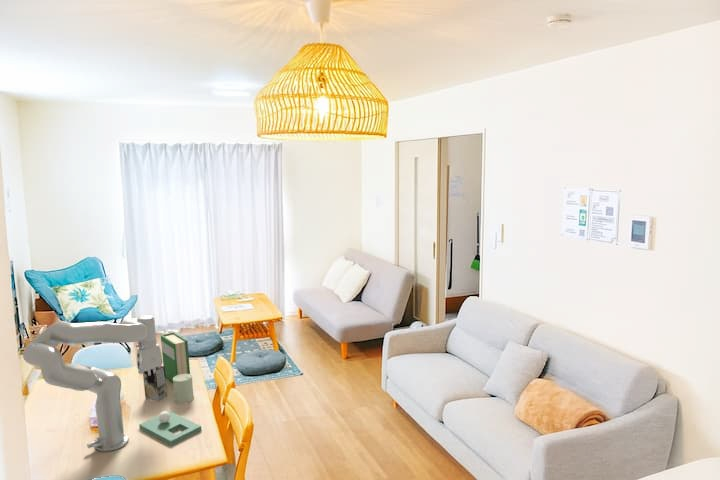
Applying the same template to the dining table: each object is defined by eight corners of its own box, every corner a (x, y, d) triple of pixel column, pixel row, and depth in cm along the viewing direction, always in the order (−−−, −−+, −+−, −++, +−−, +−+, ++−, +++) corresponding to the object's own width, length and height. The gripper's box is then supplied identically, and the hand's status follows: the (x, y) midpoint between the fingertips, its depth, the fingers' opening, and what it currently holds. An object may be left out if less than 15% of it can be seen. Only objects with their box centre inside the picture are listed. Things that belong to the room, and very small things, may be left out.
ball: (162, 426, 233) (161, 415, 232) (156, 423, 236) (155, 412, 235) (172, 421, 237) (172, 411, 236) (166, 418, 240) (165, 408, 239)
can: (188, 404, 257) (186, 381, 255) (170, 402, 259) (168, 379, 257) (197, 395, 266) (195, 373, 264) (180, 394, 268) (178, 372, 266)
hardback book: (190, 383, 281) (187, 340, 277) (177, 387, 276) (173, 343, 272) (177, 373, 294) (174, 332, 290) (164, 377, 289) (160, 335, 285)
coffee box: (168, 396, 266) (165, 366, 264) (159, 402, 260) (156, 371, 258) (154, 393, 270) (151, 363, 267) (144, 399, 264) (141, 368, 261)
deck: (171, 445, 221) (170, 441, 221) (139, 428, 236) (139, 424, 235) (201, 430, 233) (201, 425, 233) (169, 414, 247) (169, 410, 247)
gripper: (136, 350, 227) (140, 390, 230) (167, 340, 239) (171, 378, 242) (127, 347, 232) (131, 386, 235) (157, 336, 243) (161, 374, 247)
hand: (151, 382), depth 238 cm, fingers closed
